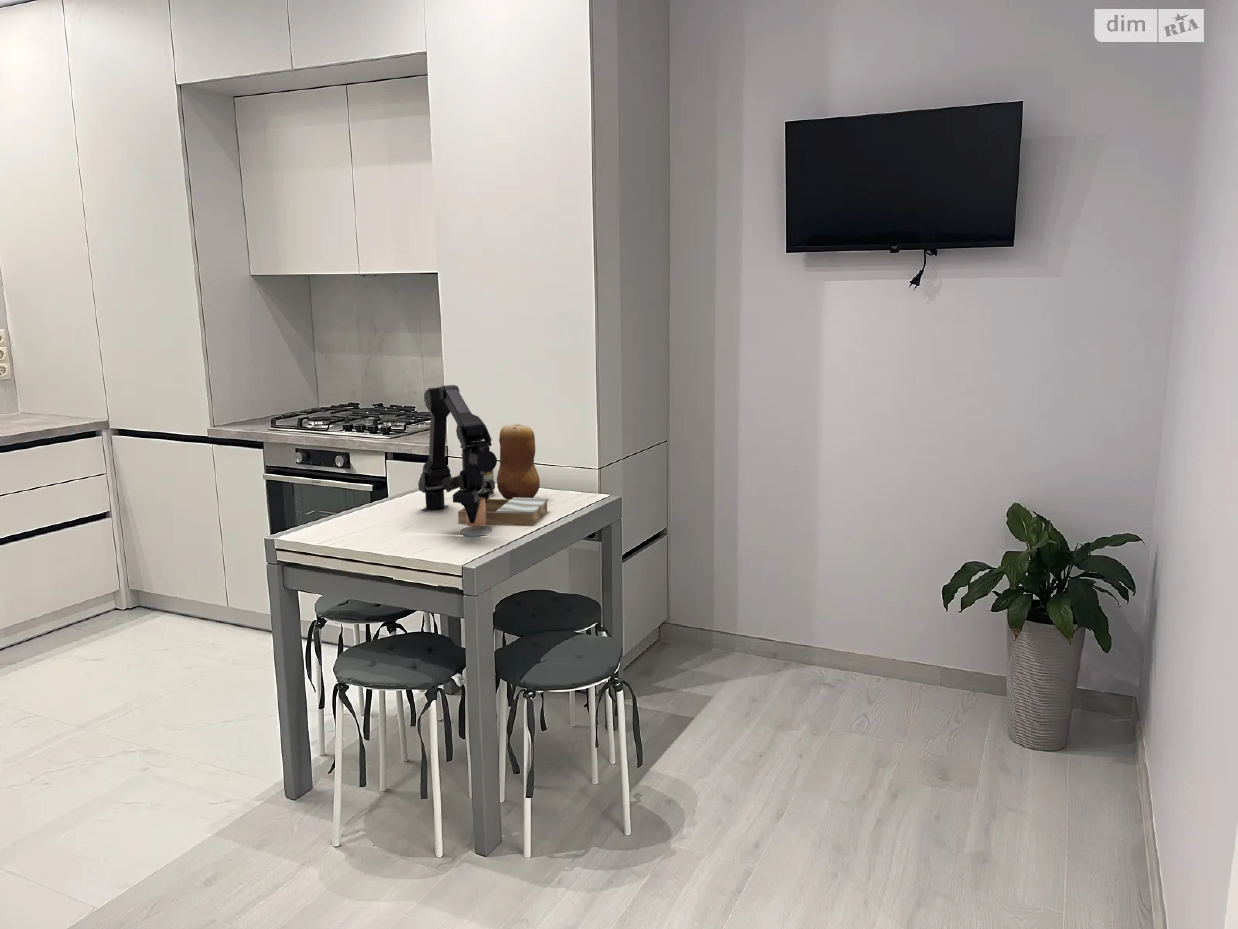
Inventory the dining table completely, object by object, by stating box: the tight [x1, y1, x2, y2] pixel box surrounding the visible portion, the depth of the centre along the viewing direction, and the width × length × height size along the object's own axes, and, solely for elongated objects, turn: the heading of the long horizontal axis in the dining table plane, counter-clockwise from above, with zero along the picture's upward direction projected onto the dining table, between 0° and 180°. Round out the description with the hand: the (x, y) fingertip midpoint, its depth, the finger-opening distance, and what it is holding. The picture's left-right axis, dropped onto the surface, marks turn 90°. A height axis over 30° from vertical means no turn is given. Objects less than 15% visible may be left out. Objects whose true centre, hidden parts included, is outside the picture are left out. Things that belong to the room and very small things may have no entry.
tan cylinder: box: [465, 497, 487, 527], centre depth 265 cm, size 6×6×7 cm
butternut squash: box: [496, 423, 541, 499], centre depth 300 cm, size 14×13×25 cm
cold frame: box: [457, 497, 550, 527], centre depth 281 cm, size 17×22×5 cm
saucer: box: [459, 525, 493, 538], centre depth 266 cm, size 9×9×1 cm
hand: (475, 520), depth 266 cm, fingers closed on tan cylinder, 5 cm apart
